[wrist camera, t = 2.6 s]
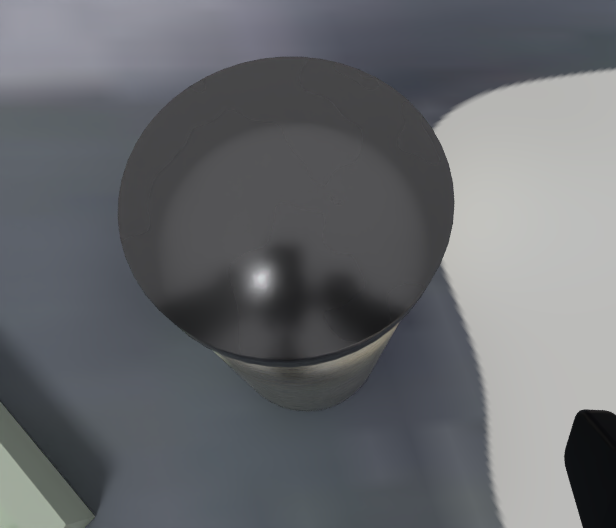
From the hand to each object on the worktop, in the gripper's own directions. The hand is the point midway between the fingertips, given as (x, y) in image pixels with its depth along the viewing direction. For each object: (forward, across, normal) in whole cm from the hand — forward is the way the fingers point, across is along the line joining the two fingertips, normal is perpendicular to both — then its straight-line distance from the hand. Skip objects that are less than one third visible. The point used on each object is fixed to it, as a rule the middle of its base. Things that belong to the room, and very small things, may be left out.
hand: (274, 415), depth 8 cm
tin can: (+10, 0, +5) cm, 11 cm away
